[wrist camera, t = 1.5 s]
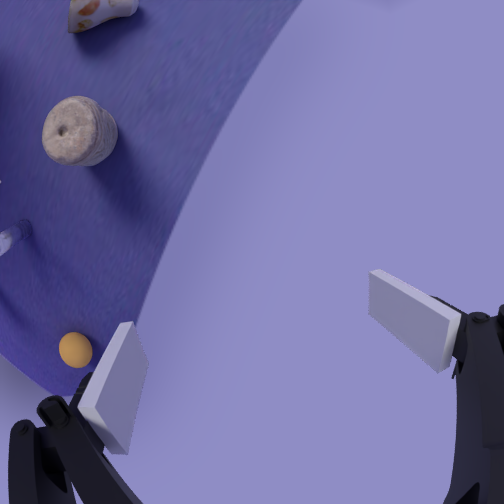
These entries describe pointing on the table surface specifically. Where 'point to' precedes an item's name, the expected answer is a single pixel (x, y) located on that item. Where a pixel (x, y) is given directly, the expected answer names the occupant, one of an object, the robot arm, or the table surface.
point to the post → (14, 235)
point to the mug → (97, 12)
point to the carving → (79, 132)
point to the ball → (75, 350)
